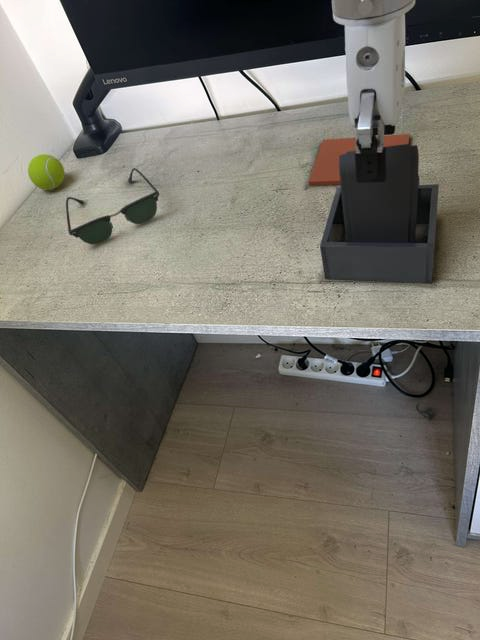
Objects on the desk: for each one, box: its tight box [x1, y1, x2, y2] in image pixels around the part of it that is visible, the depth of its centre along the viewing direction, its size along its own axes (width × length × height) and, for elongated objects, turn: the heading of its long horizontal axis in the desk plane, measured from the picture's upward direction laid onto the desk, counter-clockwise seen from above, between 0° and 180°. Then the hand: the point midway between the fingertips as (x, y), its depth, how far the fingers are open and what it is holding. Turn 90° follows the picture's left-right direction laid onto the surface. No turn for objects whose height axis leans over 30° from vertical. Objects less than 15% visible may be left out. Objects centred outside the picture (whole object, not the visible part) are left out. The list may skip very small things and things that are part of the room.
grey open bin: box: [319, 183, 440, 284], centre depth 66 cm, size 14×13×6 cm
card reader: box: [339, 143, 421, 243], centre depth 63 cm, size 9×4×15 cm, turn 81°
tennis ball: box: [27, 153, 66, 191], centre depth 101 cm, size 7×7×7 cm
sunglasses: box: [65, 167, 160, 246], centre depth 89 cm, size 16×17×5 cm
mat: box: [308, 133, 411, 186], centre depth 83 cm, size 15×13×1 cm
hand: (376, 156), depth 58 cm, fingers open, 9 cm apart
